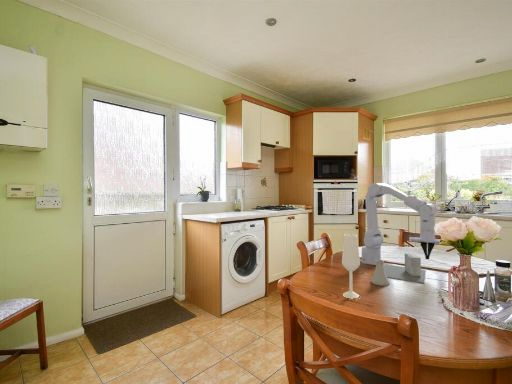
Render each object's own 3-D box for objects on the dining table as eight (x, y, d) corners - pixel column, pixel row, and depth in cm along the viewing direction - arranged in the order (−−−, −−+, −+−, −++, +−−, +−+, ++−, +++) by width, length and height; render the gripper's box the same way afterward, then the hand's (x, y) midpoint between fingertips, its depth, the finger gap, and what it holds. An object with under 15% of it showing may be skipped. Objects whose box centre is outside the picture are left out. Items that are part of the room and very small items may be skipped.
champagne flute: (345, 290, 107) (345, 232, 106) (362, 295, 103) (362, 234, 102) (339, 296, 102) (338, 235, 101) (356, 301, 97) (356, 237, 97)
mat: (378, 276, 123) (378, 275, 123) (385, 264, 139) (385, 264, 139) (423, 283, 113) (424, 282, 113) (425, 270, 129) (425, 269, 129)
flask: (381, 287, 110) (381, 264, 109) (367, 282, 116) (367, 259, 116) (392, 284, 113) (392, 261, 113) (378, 279, 119) (377, 257, 119)
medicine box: (421, 276, 120) (421, 257, 120) (410, 276, 121) (410, 257, 121) (414, 270, 128) (414, 253, 128) (404, 270, 129) (404, 253, 129)
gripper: (408, 229, 121) (408, 258, 122) (447, 232, 113) (447, 263, 114) (409, 227, 127) (409, 254, 128) (446, 229, 119) (446, 259, 119)
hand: (427, 258), depth 121 cm, fingers closed
